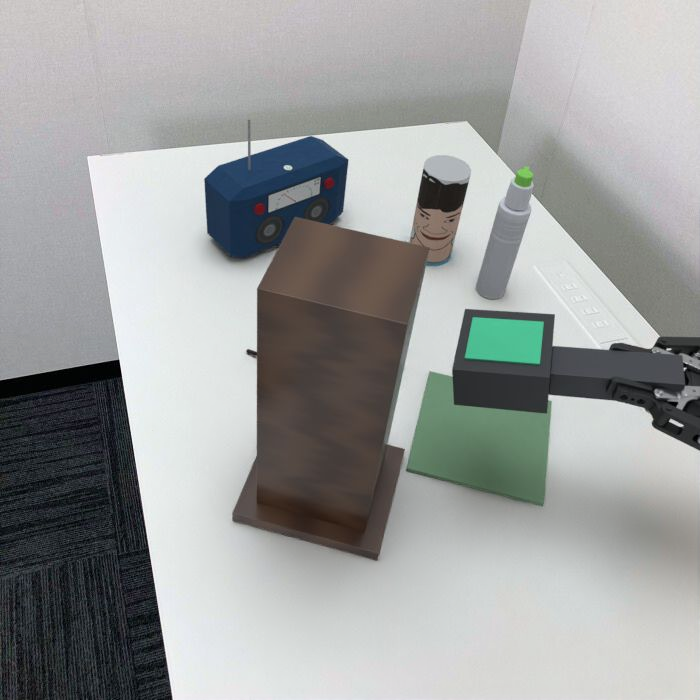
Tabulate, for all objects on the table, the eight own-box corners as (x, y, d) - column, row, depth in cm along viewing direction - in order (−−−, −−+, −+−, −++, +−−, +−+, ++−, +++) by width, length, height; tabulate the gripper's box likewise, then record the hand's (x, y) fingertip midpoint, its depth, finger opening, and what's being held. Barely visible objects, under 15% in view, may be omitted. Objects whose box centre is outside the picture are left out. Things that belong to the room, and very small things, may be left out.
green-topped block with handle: (675, 359, 74) (684, 320, 70) (681, 426, 68) (692, 387, 64) (465, 343, 79) (464, 307, 76) (453, 405, 73) (451, 367, 70)
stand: (403, 456, 87) (456, 238, 64) (377, 560, 77) (429, 348, 54) (273, 422, 88) (279, 199, 65) (232, 520, 79) (222, 298, 56)
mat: (550, 403, 95) (551, 400, 94) (543, 506, 84) (544, 504, 83) (429, 373, 96) (429, 370, 96) (405, 470, 85) (406, 468, 85)
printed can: (399, 252, 113) (414, 167, 103) (422, 233, 117) (439, 149, 107) (436, 271, 111) (455, 187, 100) (458, 251, 115) (479, 167, 104)
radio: (236, 268, 107) (233, 146, 93) (204, 237, 112) (197, 116, 97) (347, 223, 117) (360, 107, 103) (314, 196, 122) (323, 81, 107)
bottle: (509, 289, 110) (547, 173, 95) (496, 303, 107) (533, 186, 93) (484, 276, 111) (517, 160, 97) (470, 290, 109) (502, 173, 94)
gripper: (798, 334, 71) (621, 293, 73) (828, 448, 62) (623, 397, 63) (760, 385, 77) (596, 345, 79) (782, 497, 67) (594, 448, 69)
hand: (609, 368), depth 71 cm, fingers closed on green-topped block with handle, 4 cm apart
